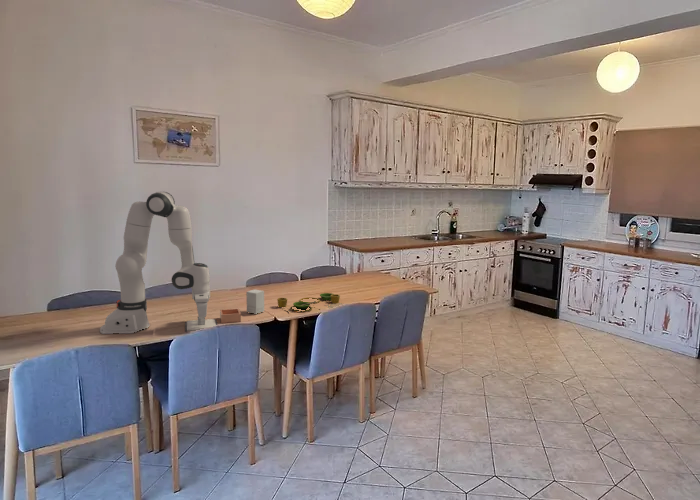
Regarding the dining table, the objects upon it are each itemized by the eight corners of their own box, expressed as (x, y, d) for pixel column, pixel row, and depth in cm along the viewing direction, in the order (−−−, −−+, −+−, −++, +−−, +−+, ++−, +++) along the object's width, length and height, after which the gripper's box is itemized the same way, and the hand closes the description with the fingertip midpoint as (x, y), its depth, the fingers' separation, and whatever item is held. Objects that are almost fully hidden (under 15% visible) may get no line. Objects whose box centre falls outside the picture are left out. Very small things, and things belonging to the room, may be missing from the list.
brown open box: (221, 324, 242) (221, 315, 242) (220, 318, 252) (219, 309, 251) (240, 322, 246) (240, 313, 245) (238, 317, 255) (238, 308, 254)
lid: (187, 330, 229) (186, 322, 229) (187, 322, 242) (186, 314, 242) (216, 328, 234) (216, 320, 233) (214, 320, 247) (214, 312, 246)
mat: (184, 332, 228) (184, 331, 228) (185, 322, 243) (185, 321, 243) (218, 329, 233) (218, 329, 233) (216, 320, 248) (216, 319, 248)
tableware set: (288, 315, 262) (288, 304, 262) (270, 303, 286) (270, 293, 285) (350, 307, 283) (351, 297, 282) (329, 296, 307) (329, 287, 306)
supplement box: (264, 312, 266) (264, 290, 264) (255, 315, 260) (255, 293, 258) (255, 310, 270) (254, 288, 268) (246, 313, 264) (246, 291, 262)
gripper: (194, 290, 245) (195, 315, 247) (195, 300, 225) (196, 327, 228) (206, 289, 247) (207, 314, 249) (208, 299, 228) (209, 326, 230)
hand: (202, 320), depth 238 cm, fingers open, 8 cm apart
